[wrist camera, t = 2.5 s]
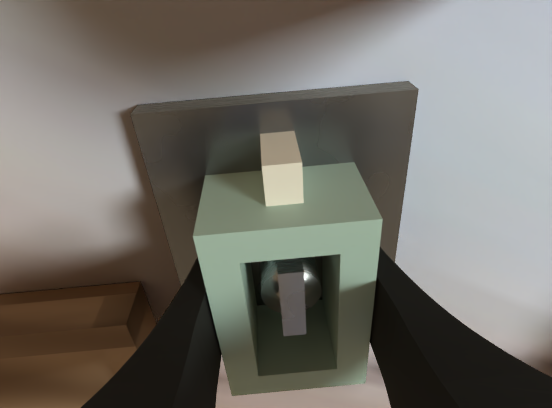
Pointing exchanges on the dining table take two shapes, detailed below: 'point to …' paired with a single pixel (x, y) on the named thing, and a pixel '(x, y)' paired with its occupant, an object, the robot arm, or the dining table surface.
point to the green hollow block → (287, 245)
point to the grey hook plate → (247, 157)
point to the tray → (68, 342)
